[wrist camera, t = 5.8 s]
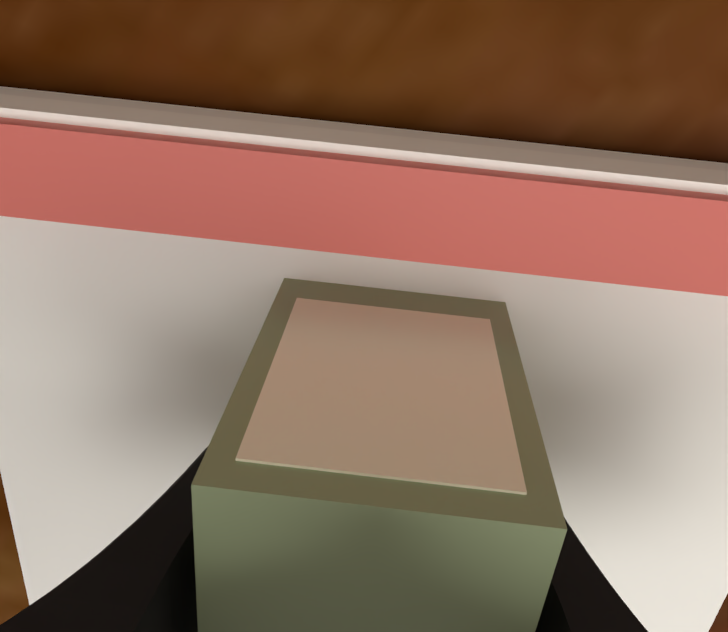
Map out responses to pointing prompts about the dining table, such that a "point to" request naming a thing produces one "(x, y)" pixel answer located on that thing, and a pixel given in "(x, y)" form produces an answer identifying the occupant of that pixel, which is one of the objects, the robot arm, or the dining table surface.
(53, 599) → the robot arm
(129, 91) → the dining table surface
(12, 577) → the dining table surface
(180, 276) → the shelf board
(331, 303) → the carton
